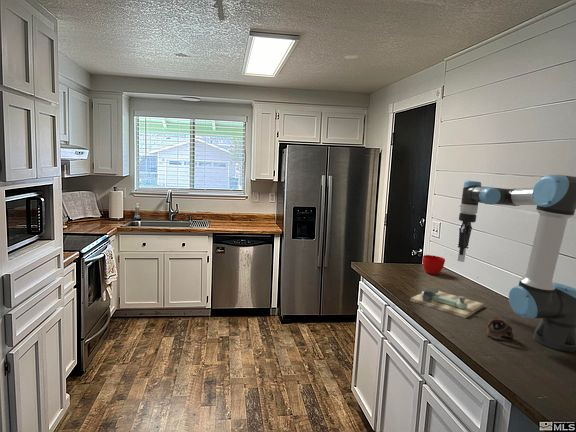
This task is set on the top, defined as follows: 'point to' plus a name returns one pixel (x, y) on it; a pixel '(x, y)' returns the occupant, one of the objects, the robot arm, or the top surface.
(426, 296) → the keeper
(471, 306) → the base board
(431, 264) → the ceramic cup
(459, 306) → the link
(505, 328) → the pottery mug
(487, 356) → the top surface
